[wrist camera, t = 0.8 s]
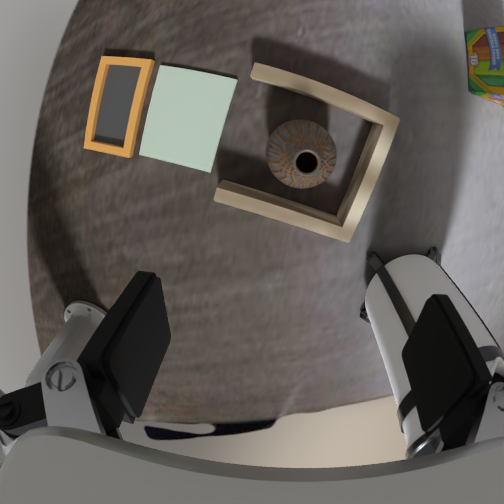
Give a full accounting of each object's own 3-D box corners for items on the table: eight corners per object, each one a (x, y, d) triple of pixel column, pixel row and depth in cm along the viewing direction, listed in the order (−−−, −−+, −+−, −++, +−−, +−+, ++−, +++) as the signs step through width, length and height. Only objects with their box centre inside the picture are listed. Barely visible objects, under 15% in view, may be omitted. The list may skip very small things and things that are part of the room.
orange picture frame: (132, 156, 32) (129, 157, 31) (87, 146, 31) (83, 148, 30) (155, 60, 26) (151, 59, 25) (105, 56, 26) (101, 56, 25)
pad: (211, 171, 32) (210, 172, 32) (140, 154, 31) (139, 154, 31) (237, 80, 27) (237, 79, 27) (161, 65, 26) (160, 65, 26)
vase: (334, 170, 31) (355, 192, 23) (276, 185, 32) (277, 211, 25) (319, 111, 28) (336, 113, 20) (258, 127, 30) (253, 133, 22)
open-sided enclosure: (342, 230, 34) (348, 243, 31) (219, 191, 33) (213, 200, 30) (388, 117, 27) (400, 118, 24) (256, 67, 26) (254, 62, 23)
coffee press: (323, 289, 39) (359, 521, 12) (414, 213, 33) (566, 407, 6) (384, 346, 44) (427, 512, 17) (459, 289, 37) (547, 441, 11)
